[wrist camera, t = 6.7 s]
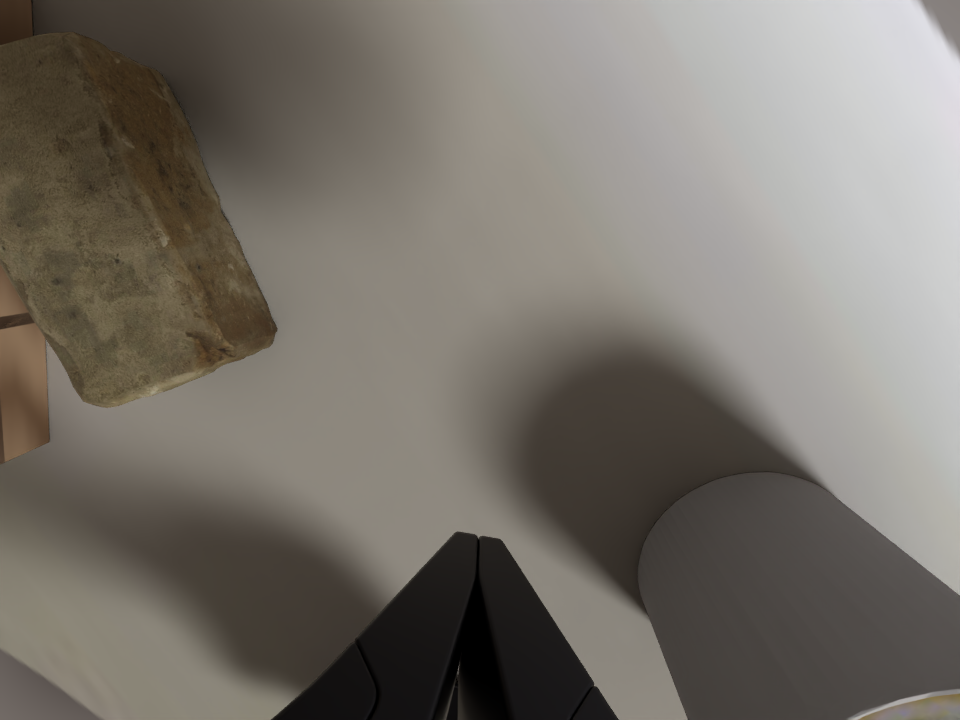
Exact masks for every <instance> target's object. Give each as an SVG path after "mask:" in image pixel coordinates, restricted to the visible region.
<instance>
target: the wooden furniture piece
mask: <svg viewBox="0 0 960 720" xmlns="http://www.w3.org/2000/svg"><path fill="white" fill-rule="evenodd" d="M32 36H33V28H32V4H31V0H0V45H3V44H7V43H10V42H13V41H17V40H21V39H25V38H28V37H32ZM48 442H49V418H48V394H47V370H46V345H45V337H44V336H43V334H42V333H41V331H40V330H39V328H38V327H37V325H36V324H35V322H34V321H33V319H32V317H31V316H30V314H29V312H28V311H27V309H26V307H25V306H24V304H23V302H22V301H21V299H20V297H19V296H18V294H17V292H16V291H15V289H14V287H13V286H12V284H11V282H10V280H9V279H8V277H7V275H6V273H5V272H4V270H3V268H2V266H1V265H0V464H2V463H4V462H7V461H9V460H11V459H13V458H15V457H18V456H20V455H22V454H24V453H26V452H28V451H31V450H33V449H35V448H37V447H39V446H42V445H44V444H46V443H48Z"/></svg>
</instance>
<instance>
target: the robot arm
mask: <svg viewBox="0 0 960 720" xmlns="http://www.w3.org/2000/svg"><path fill="white" fill-rule="evenodd" d="M459 662H460V663H459ZM458 667H459V676H458V684H456V683H455V681H456V676H457V671H458ZM271 720H619V719H618V718H617V717H616V715H615V714H614V712H613V711H612V709H611V708H610V706H609V705H608V703H607V702H606V700H605V698H604V697H603V695H602V694H601V692H600V691H599V689H598V688H597V687H596V686H594V682H593V680H592V679H591V677H590V676H589V674H588V673H587V671H586V669H585V668H584V666H583V665H582V663H581V662H580V660H579V659H578V657H577V656H576V654H575V652H574V651H573V649H572V648H571V646H570V645H569V643H568V642H567V640H566V639H565V637H564V635H563V634H562V632H561V631H560V629H559V628H558V626H557V625H556V623H555V622H554V620H553V618H552V617H551V615H550V614H549V612H548V611H547V609H546V608H545V606H544V605H543V603H542V601H541V600H540V598H539V597H538V595H537V594H536V592H535V591H534V589H533V588H532V586H531V584H530V583H529V581H528V580H527V578H526V577H525V575H524V574H523V572H522V571H521V569H520V567H519V566H518V564H517V563H516V561H515V560H514V558H513V557H512V555H511V554H510V552H509V550H508V549H507V547H506V546H505V544H504V543H503V541H502V540H501V539H498V538H492V537H486V536H480V537H479V539H478V537H477V536H476V535H475V534H470V533H464V532H455V533H454V534H453V535H452V536H451V537H450V538H449V540H448V541H447V542H446V543H445V544H444V545H443V546H442V547H441V548H440V549H439V550H438V551H437V552H436V553H435V554H434V556H433V557H432V558H431V559H430V560H429V561H428V562H427V563H426V564H425V565H424V566H423V567H422V568H421V569H420V570H419V572H418V573H417V574H416V575H415V576H414V577H413V578H412V579H411V580H410V581H409V582H408V583H407V584H406V585H405V587H404V588H403V589H402V590H401V591H400V592H399V593H398V594H397V595H396V596H395V597H394V598H393V599H392V600H391V601H390V603H389V604H388V605H387V606H386V607H385V608H384V609H383V610H382V611H381V612H380V613H379V614H378V615H377V616H376V618H375V619H374V620H373V621H372V622H371V623H370V624H369V625H368V626H367V627H366V628H365V629H364V630H363V631H362V632H361V634H360V635H359V636H358V637H357V638H356V639H355V641H354V643H351V644H350V645H349V646H348V647H347V648H346V649H345V650H344V651H343V652H342V654H341V655H340V656H339V657H338V658H337V659H336V660H335V661H334V662H333V663H332V664H331V665H330V666H329V667H328V668H327V669H326V670H325V671H324V672H323V673H322V674H321V675H320V676H319V677H318V678H317V679H316V680H315V681H314V682H313V683H312V684H311V685H310V686H309V687H308V688H307V689H306V690H304V691H303V692H302V693H301V694H300V695H299V696H298V697H296V698H295V699H294V700H293V701H292V702H291V703H290V704H289V705H287V706H286V707H285V708H284V709H283V710H282V711H281V712H279V713H278V714H277V715H276V716H275V717H274V718H272V719H271Z"/></svg>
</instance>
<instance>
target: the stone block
mask: <svg viewBox="0 0 960 720" xmlns="http://www.w3.org/2000/svg"><path fill="white" fill-rule="evenodd" d="M0 265H1V266H2V268H3V270H4V272H5V273H6V275H7V277H8V279H9V280H10V282H11V284H12V286H13V287H14V289H15V291H16V292H17V294H18V296H19V297H20V299H21V301H22V302H23V304H24V306H25V307H26V309H27V311H28V312H29V314H30V316H31V317H32V319H33V321H34V322H35V324H36V325H37V327H38V328H39V330H40V331H41V333H42V334H43V336H44V337H45V339H46V340H47V342H48V343H49V344H50V346H51V347H52V349H53V350H54V352H55V353H56V354H57V356H58V358H59V359H60V361H61V363H62V365H63V366H64V368H65V370H66V372H67V373H68V376H69V378H70V380H71V383H72V385H73V387H74V389H75V390H76V392H77V393H78V395H79V396H80V397H81V399H82V400H83V402H86V403H89V404H93V405H96V406H100V407H105V408H109V407H116V406H119V405H122V404H125V403H127V402H130V401H133V400H136V399H139V398H142V397H148V396H153V395H156V394H158V393H161V392H165V391H168V390H171V389H173V388H175V387H178V386H180V385H183V384H185V383H187V382H189V381H192V380H195V379H197V378H200V377H202V376H205V375H207V374H209V373H212V372H214V371H215V370H216V369H217V368H219V367H221V366H223V365H225V364H227V363H231V362H234V361H238V360H241V359H244V358H245V357H246V356H250V355H253V354H255V353H257V352H258V351H260V350H262V349H265V348H268V347H270V346H271V345H272V344H273V341H274V337H275V333H276V332H277V327H276V325H275V323H274V322H273V320H272V317H271V314H270V311H269V308H268V305H267V303H266V301H265V299H264V297H263V295H262V293H261V291H260V289H259V287H258V284H257V282H256V280H255V278H254V275H253V273H252V271H251V270H250V268H249V266H248V264H247V262H246V260H245V257H244V254H243V251H242V248H241V245H240V243H239V241H238V240H237V239H236V237H235V236H234V233H233V231H232V229H231V227H230V225H229V224H228V222H227V220H226V219H225V217H224V216H223V214H222V213H221V207H220V199H219V196H218V194H217V193H216V191H215V190H214V188H213V186H212V184H211V182H210V180H209V177H208V175H207V172H206V170H205V167H204V165H203V162H202V159H201V156H200V153H199V149H198V146H197V143H196V141H195V138H194V136H193V133H192V131H191V129H190V126H189V124H188V122H187V120H186V118H185V116H184V114H183V112H182V110H181V108H180V106H179V104H178V102H177V100H176V99H175V97H174V95H173V93H172V92H171V90H170V88H169V86H168V85H167V83H166V81H165V79H164V78H163V76H162V75H161V74H160V73H159V72H158V71H157V70H154V69H152V68H149V67H146V66H144V65H141V64H139V63H137V62H135V61H133V60H131V59H129V58H126V57H125V56H124V55H122V54H121V53H118V52H115V51H110V50H109V49H108V48H107V47H105V46H104V45H103V44H101V43H99V42H98V41H95V40H93V39H91V38H88V37H85V36H82V35H80V34H77V33H75V32H58V33H49V34H41V35H36V36H32V37H28V38H25V39H21V40H17V41H13V42H10V43H7V44H3V45H0Z"/></svg>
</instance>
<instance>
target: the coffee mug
mask: <svg viewBox="0 0 960 720" xmlns="http://www.w3.org/2000/svg"><path fill="white" fill-rule="evenodd" d="M638 584H639V591H640V594H641V598H642V600H643V603H644V605H645V608H646V611H647V613H648V616H649V619H650V621H651V624H652V626H653V629H654V632H655V634H656V637H657V640H658V642H659V645H660V647H661V650H662V653H663V655H664V658H665V661H666V663H667V666H668V668H669V671H670V674H671V676H672V679H673V682H674V684H675V687H676V689H677V692H678V695H679V697H680V700H681V703H682V705H683V708H684V710H685V713H686V716H687V718H688V720H960V596H959V595H958V594H957V593H956V592H954V591H953V590H952V589H951V588H949V587H948V586H947V585H946V584H944V583H943V582H942V581H941V580H939V579H938V578H937V577H935V576H934V575H933V574H932V573H930V572H929V571H928V570H927V569H925V568H924V567H923V566H922V565H920V564H919V563H918V562H917V561H915V560H914V559H913V558H911V557H910V556H909V555H908V554H906V553H905V552H904V551H903V550H901V549H900V548H899V547H898V546H896V545H895V544H894V543H893V542H891V541H890V540H889V539H887V538H886V537H885V536H884V535H882V534H881V533H880V532H879V531H877V530H876V529H875V528H874V527H872V526H871V525H870V524H869V523H867V522H866V521H865V520H864V519H862V518H861V517H860V516H858V515H857V514H856V513H855V512H853V511H852V510H851V509H850V508H848V507H847V506H846V505H845V504H843V503H842V502H841V501H840V500H838V499H837V498H836V497H834V496H833V495H832V494H830V493H829V492H828V491H826V490H825V489H823V488H821V487H820V486H818V485H816V484H814V483H812V482H809V481H807V480H804V479H801V478H798V477H795V476H791V475H787V474H782V473H773V472H756V473H742V474H737V475H732V476H727V477H723V478H720V479H716V480H714V481H711V482H709V483H707V484H705V485H703V486H700V487H698V488H696V489H694V490H692V491H691V492H689V493H688V494H686V495H685V496H683V497H682V498H680V499H679V500H678V501H676V502H675V503H674V504H673V505H672V506H671V507H670V508H668V509H667V510H666V511H665V512H664V513H663V515H662V516H661V517H660V518H659V519H658V521H657V522H656V523H655V525H654V526H653V527H652V529H651V531H650V532H649V534H648V536H647V538H646V540H645V542H644V545H643V548H642V551H641V555H640V559H639V564H638Z"/></svg>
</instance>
